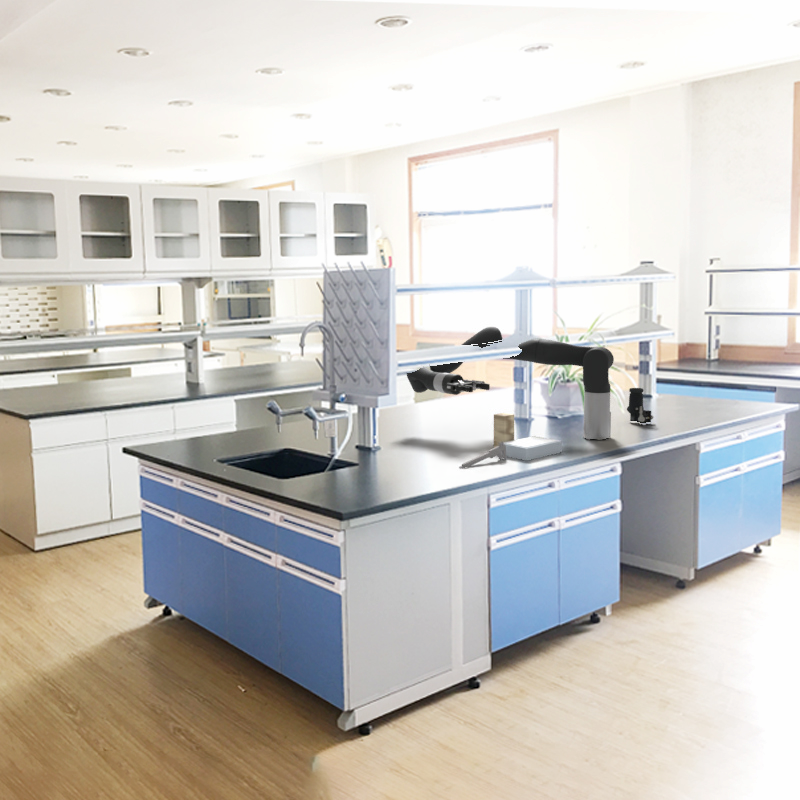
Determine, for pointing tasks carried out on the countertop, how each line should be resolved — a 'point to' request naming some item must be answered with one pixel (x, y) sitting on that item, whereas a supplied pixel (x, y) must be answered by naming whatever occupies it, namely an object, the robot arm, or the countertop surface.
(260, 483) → the countertop surface
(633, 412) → the scope
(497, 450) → the caliper
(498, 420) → the maple block
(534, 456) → the white chamfered block
